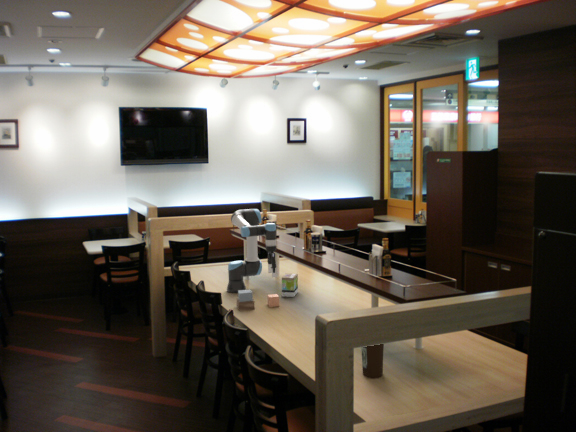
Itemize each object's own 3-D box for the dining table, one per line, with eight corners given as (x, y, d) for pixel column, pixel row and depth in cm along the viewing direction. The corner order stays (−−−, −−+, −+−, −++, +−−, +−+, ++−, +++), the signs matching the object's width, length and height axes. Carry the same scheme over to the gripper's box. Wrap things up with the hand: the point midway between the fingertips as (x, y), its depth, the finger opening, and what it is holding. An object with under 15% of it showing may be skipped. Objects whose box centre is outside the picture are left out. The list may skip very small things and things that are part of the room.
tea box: (294, 297, 387) (294, 277, 385) (281, 296, 389) (281, 277, 387) (298, 291, 401) (297, 273, 400) (285, 291, 403) (285, 273, 402)
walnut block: (236, 306, 367) (236, 298, 366) (252, 305, 369) (251, 297, 368) (238, 311, 356) (238, 302, 355) (254, 309, 358) (254, 301, 358)
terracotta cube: (267, 304, 369) (267, 294, 369) (277, 303, 371) (276, 294, 370) (269, 307, 363) (269, 297, 362) (279, 306, 364) (279, 296, 363)
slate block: (238, 298, 365) (237, 290, 365) (250, 297, 367) (250, 289, 367) (239, 302, 356) (239, 293, 356) (252, 300, 359) (252, 292, 358)
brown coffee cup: (380, 368, 251) (379, 319, 249) (386, 378, 241) (386, 326, 238) (358, 370, 250) (358, 320, 247) (364, 379, 240) (364, 327, 237)
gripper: (262, 243, 373) (263, 271, 376) (269, 248, 349) (270, 279, 351) (272, 242, 375) (273, 271, 377) (279, 247, 351) (280, 278, 353)
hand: (272, 275), depth 364 cm, fingers open, 13 cm apart
